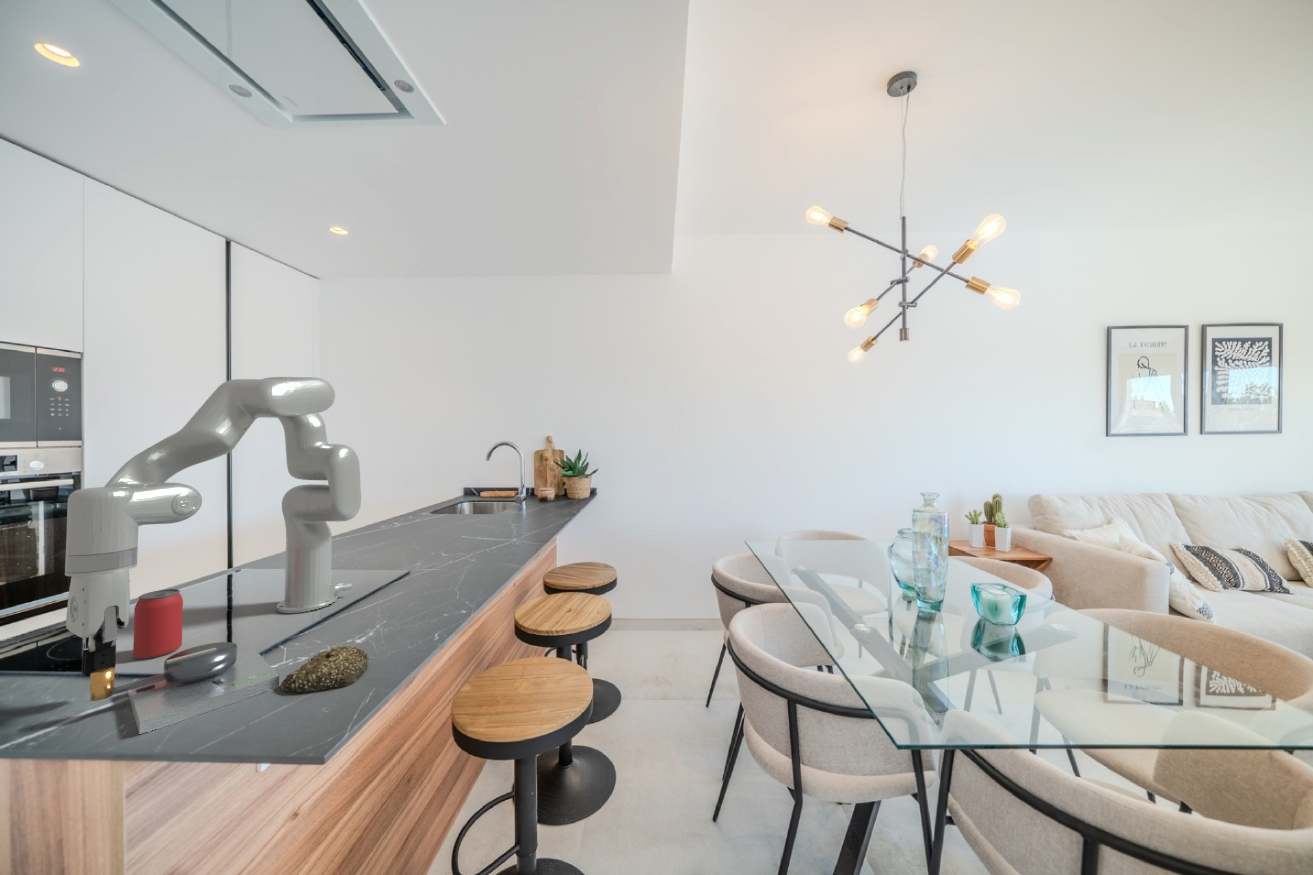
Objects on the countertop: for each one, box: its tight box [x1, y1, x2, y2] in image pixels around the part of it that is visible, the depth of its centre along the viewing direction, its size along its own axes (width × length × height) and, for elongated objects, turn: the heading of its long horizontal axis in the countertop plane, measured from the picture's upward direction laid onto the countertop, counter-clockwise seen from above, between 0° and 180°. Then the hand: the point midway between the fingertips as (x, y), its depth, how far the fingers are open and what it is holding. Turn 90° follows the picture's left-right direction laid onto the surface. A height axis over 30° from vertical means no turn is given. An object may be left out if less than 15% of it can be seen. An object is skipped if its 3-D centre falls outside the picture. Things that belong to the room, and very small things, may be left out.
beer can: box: [132, 588, 184, 660], centre depth 89 cm, size 7×7×12 cm
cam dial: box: [89, 641, 238, 702], centre depth 75 cm, size 17×9×4 cm, turn 144°
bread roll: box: [279, 645, 370, 693], centre depth 82 cm, size 13×12×5 cm
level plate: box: [127, 647, 280, 735], centre depth 76 cm, size 16×17×3 cm
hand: (98, 671), depth 73 cm, fingers closed
